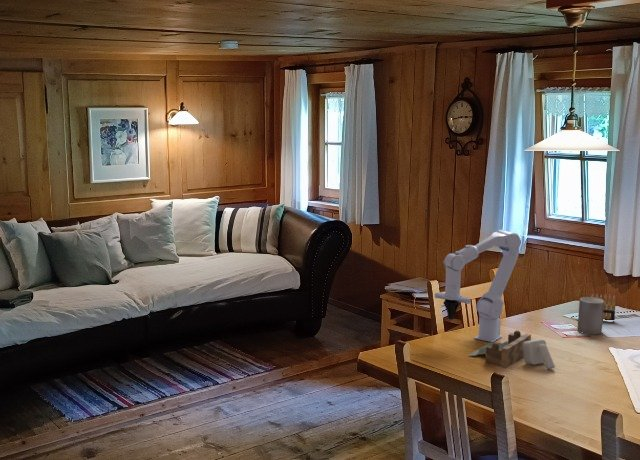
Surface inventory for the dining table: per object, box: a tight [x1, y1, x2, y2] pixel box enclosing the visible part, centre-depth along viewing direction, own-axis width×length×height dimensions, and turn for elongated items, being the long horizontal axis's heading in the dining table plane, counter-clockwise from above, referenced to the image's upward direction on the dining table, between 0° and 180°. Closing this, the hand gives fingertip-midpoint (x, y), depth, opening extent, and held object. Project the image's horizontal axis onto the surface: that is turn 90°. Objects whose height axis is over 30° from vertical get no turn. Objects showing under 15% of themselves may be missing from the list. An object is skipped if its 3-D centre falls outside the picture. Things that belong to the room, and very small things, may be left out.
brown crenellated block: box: [484, 329, 532, 369], centre depth 281 cm, size 23×8×8 cm, turn 143°
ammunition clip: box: [590, 293, 616, 320], centre depth 332 cm, size 11×2×12 cm, turn 72°
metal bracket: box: [468, 340, 508, 357], centre depth 285 cm, size 14×6×15 cm
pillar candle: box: [577, 296, 604, 335], centre depth 315 cm, size 10×10×15 cm
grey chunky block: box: [523, 339, 556, 370], centre depth 272 cm, size 8×10×10 cm
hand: (451, 318), depth 296 cm, fingers closed
